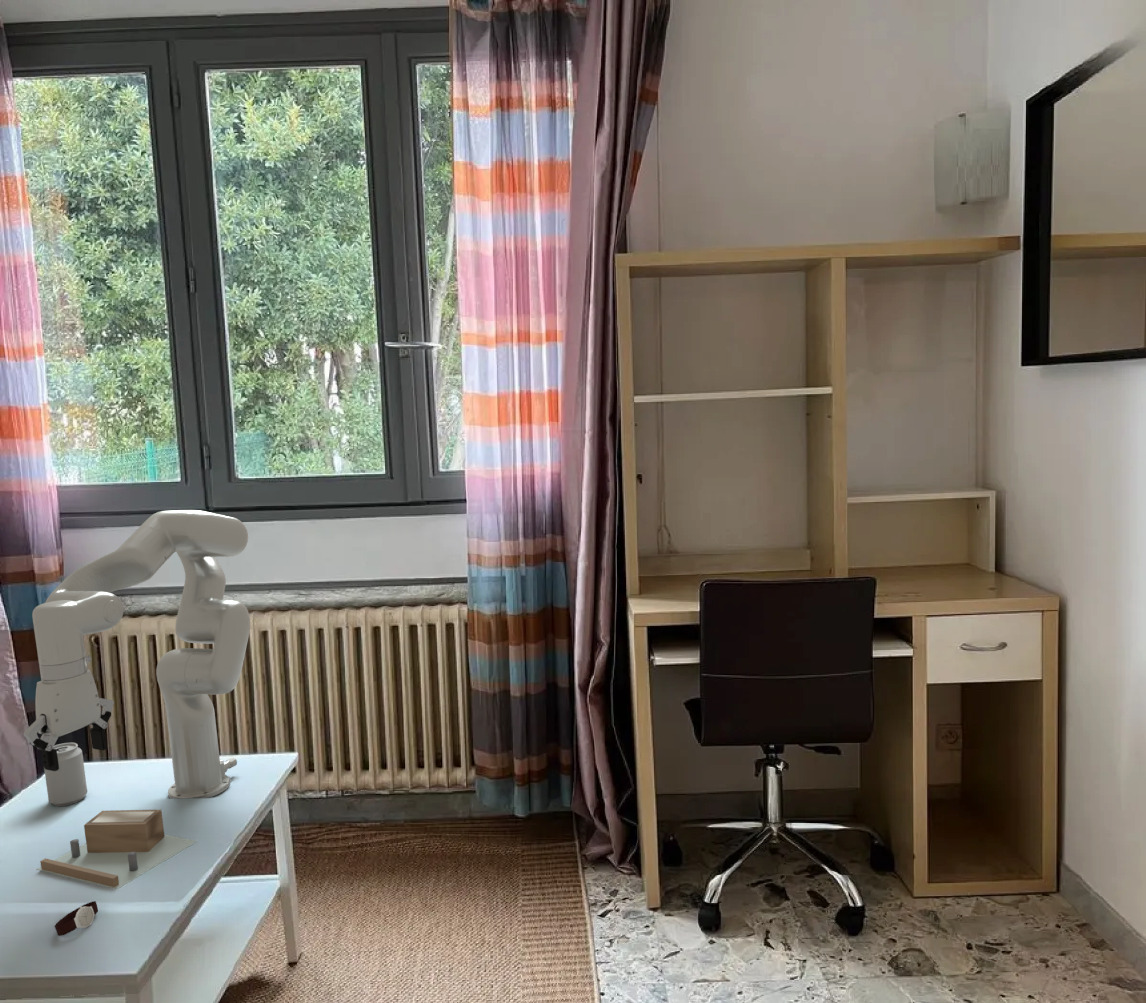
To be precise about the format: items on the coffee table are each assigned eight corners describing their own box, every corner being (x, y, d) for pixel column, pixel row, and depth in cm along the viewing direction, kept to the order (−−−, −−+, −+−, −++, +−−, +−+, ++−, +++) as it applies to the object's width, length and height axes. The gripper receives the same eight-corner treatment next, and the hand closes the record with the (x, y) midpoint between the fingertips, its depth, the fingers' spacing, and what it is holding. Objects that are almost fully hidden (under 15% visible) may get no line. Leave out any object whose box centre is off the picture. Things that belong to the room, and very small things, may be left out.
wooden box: (105, 837, 186) (102, 810, 185) (164, 836, 184) (161, 809, 184) (87, 852, 180) (83, 824, 179) (148, 852, 178) (144, 823, 178)
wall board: (120, 831, 191) (117, 811, 190) (197, 847, 182) (195, 826, 181) (37, 875, 175) (34, 853, 174) (117, 895, 166) (114, 872, 165)
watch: (71, 941, 153) (68, 920, 152) (47, 938, 154) (44, 917, 153) (106, 914, 160) (104, 894, 160) (83, 912, 161) (81, 891, 161)
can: (80, 789, 213) (73, 738, 211) (93, 798, 207) (86, 745, 206) (44, 801, 207) (36, 748, 206) (55, 811, 202) (48, 756, 201)
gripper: (92, 653, 182) (103, 739, 184) (4, 682, 167) (18, 775, 169) (119, 657, 179) (130, 744, 181) (32, 686, 163) (45, 781, 166)
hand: (76, 759), depth 175 cm, fingers open, 9 cm apart
